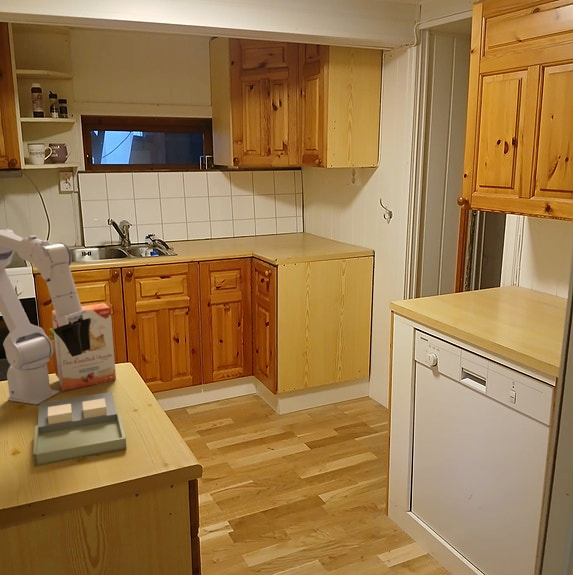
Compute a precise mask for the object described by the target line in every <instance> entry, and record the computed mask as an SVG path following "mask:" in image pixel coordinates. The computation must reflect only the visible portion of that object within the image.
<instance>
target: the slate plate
mask: <svg viewBox="0 0 573 575" xmlns="http://www.w3.org/2000/svg"><path fill="white" fill-rule="evenodd" d="M103 398H105V403H106V410H107V415H103V416H97V417H91V418H85V419H84V413H83V403H82V402H84V401H90V400H97V399H103ZM65 404H71V408H72V421H67V422H61V423H55V424H49V423H48V407H52V406H59V405H65ZM117 412H118V410H117V407H116V403H115V399H114V394H113V391H109V392H102V393H95V394H94V393H93V394H88V395H82V396H75V397H69V398H62V399H57V400H50V401H43V402H41V403H39V404H38V417H37V425H38V429H39V434H41V433H47V432H53V431H58V430H64V429H70V428H76V427H82V426H88V425H94V424H99V423H105V422H111V421H117Z"/></svg>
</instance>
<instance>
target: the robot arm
mask: <svg viewBox="0 0 573 575" xmlns="http://www.w3.org/2000/svg"><path fill="white" fill-rule="evenodd" d="M14 253H17V255H18V256H19V257H20V258H21V259H22V260H23V261H27V262H29V263H31V264H34V265H35V267H36V269H37V270H38V271H39V273H40V275H41V278H42V280H45V283H46V287H47V290H48V292H49V296H50V299H51V300H50V301H51V303H52V306H53V309H54V310H55V313H56V316H57V318H56V319H57V323H58V326H59V327H58V328H55V329H54V328H53V330H54V332H55V333H56V334H57V335H58V336H59V337H60V338H61V339H62V341H63V342H64V344H65V345H66V347H67V349H68V351H69V352H70V354H71V356H72V357H74V356H77V355H80V354H82V352H83V351H86V350H90V335H89V331H90V323H91V318H88V319H85V318H84V315H83V314H85V313H87V312H88V310H84V311H83V310H82V307H81V306H82V303H81V301H80V297H79V294H78V289H77V288H76V284H75V281H74V278H73V274H72V271H71V268H70V266H71V264H72V261H73V255H72V252H71V249H70V247H69V246H68V245H67V244H66V243H64V242H62V241H60V242H57V243H54V244H53V243H51V242H50V241H49V240H42V239H39V238H38V236H37V235H35V234H33V235H28V236H26V237H24V238H23V237H21V236H20V235H18V234H15V233H14V231H13V229H9V228H3V229H0V314H1V316H2V318H3V321H4V323H5V325H6V327H7V329H8V331H9V333H8V334H7V336H6V337H5V339H4V341H3V344H2V346H3V348H4V351H5V357H6V360H7V362H8V363H9V365H10V366H9V367H8V369H7V373H6V379H7V385H8V387H7V388H8V393H9V397H7V399H6V400H7V401H12V402H17V403H24V404H31V405H39V403H42V402H45V401H46V400H47V399H50V398H52V396H55V395H56V394H58V393H59V390H55V389H52V388H51V385H50V375H49V369H48V368H49V367H48V363H50V358H49V357H51V356H52V353H53V344H52V342H51V341H52V339H51V338H50V337H49V336H48V335H47V334H46V333H45V330H44V329H43V328H42V327H40V326H38V325H34V324H33V323H31V322H30V320H29V318H28V316H27V313H26V312H25V309H24V307H23V306H22V302H21V301H20V298H19V297H18V295H17V292H16V290H15V288H14V286H13V284H12V282H11V279H10V277H9V276H8V274H7V272H6V267H7V266H9V265H10V264H11V263H12V260H13V257H14ZM72 319H74V320H72ZM83 319H84V320H83ZM69 320H71V321H69ZM72 322H74V323H72ZM60 326H61V327H60Z"/></svg>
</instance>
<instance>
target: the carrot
mask: <svg viewBox="0 0 573 575" xmlns="http://www.w3.org/2000/svg"><path fill="white" fill-rule="evenodd" d="M48 331H49V333H50V334H51V335H49V336H48V337H49V338H50V340H51V342H52V344H53V353H52V356H51V357H49V363H50V364H51V368H52V371H53V372H54V374H55V375H56V377H57V378H58V379H59V376H58V366H57V357H56V347H55V338H54V328H52V327H51V328H49V329H48Z"/></svg>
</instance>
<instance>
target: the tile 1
mask: <svg viewBox="0 0 573 575" xmlns="http://www.w3.org/2000/svg"><path fill="white" fill-rule="evenodd" d="M67 421H72V408H71V404H65V405H59V406H52V407H48V423H49V424H55V423H61V422H67Z"/></svg>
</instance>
